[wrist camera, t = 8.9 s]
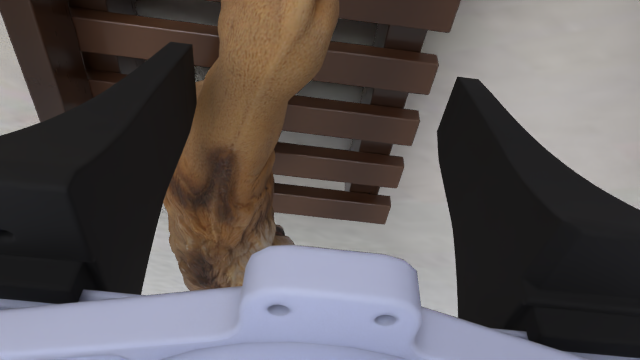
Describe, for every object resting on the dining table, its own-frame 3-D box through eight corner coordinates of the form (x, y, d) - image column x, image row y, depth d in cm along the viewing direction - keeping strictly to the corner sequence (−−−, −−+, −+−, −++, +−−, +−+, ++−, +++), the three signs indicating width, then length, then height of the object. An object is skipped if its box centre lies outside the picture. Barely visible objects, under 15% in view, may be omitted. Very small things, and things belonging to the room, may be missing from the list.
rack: (504, -236, 17) (560, -199, 12) (381, 176, 31) (386, 264, 27) (15, -317, 16) (-118, -308, 11) (119, 146, 30) (79, 231, 26)
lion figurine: (293, 165, 25) (293, 333, 19) (185, 153, 24) (149, 325, 18) (373, -178, 15) (429, -46, 9) (188, -221, 14) (108, -109, 8)
